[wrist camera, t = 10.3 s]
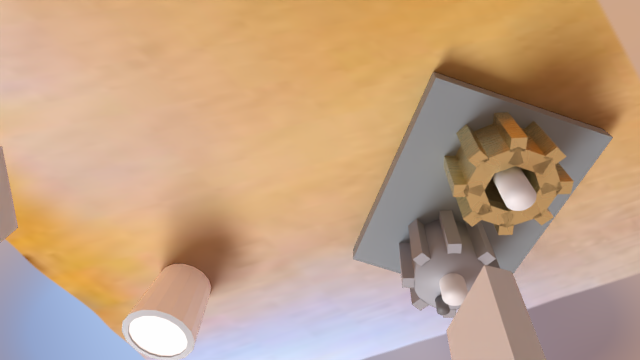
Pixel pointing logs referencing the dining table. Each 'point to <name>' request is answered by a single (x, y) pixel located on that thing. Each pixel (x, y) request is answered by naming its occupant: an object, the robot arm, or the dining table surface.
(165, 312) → the beige cup
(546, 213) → the brass gear
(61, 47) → the dining table surface
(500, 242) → the gear board
